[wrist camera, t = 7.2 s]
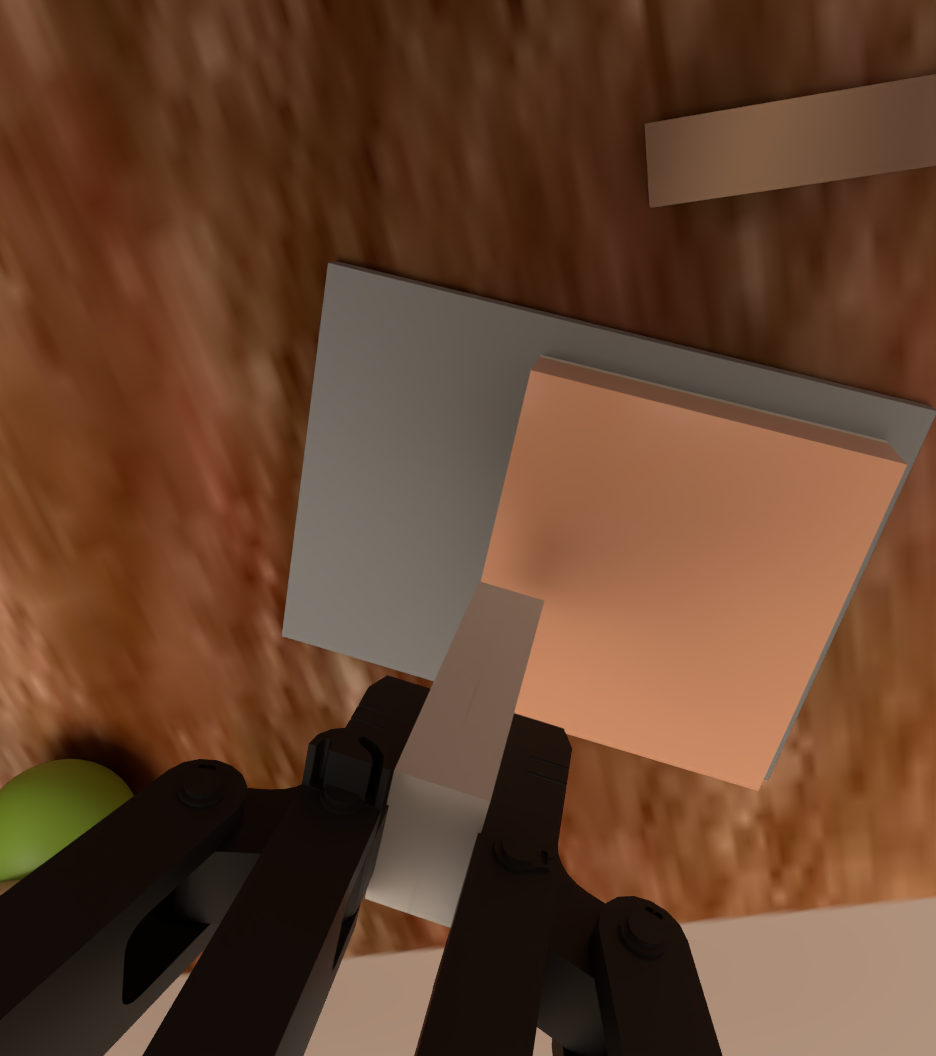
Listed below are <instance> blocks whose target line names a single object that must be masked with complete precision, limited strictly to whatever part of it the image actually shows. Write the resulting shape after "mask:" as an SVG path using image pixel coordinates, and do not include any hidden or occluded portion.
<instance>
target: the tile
mask: <svg viewBox="0 0 936 1056" xmlns="http://www.w3.org/2000/svg"><path fill="white" fill-rule="evenodd" d="M906 467H907V464H906V463H905V462H904V460H903V459H902V458H901V457H900V456H899V455H898V454H897V453H896V451H895V450H894V449H893V448H892V447H891V446H890V445H889V444H888V443H887V441H886V440H882V439H878V438H874V437H870V436H866V435H862V434H858V433H854V432H850V431H846V430H842V429H838V428H834V427H830V426H826V425H822V424H818V423H814V422H810V421H806V420H802V419H798V418H794V417H790V416H786V415H782V414H778V413H774V412H770V411H766V410H762V409H758V408H754V407H750V406H746V405H742V404H738V403H734V402H730V401H726V400H722V399H718V398H714V397H710V396H706V395H702V394H698V393H694V392H689V391H685V390H681V389H677V388H673V387H669V386H665V385H661V384H657V383H653V382H649V381H645V380H641V379H637V378H633V377H629V376H625V375H621V374H617V373H613V372H609V371H605V370H601V369H597V368H593V367H589V366H585V365H581V364H577V363H573V362H569V361H565V360H561V359H557V358H553V357H549V356H545V355H541V356H540V357H539V359H538V360H537V362H536V363H535V365H534V366H533V368H532V369H531V372H530V376H529V380H528V384H527V388H526V393H525V397H524V401H523V405H522V410H521V414H520V418H519V422H518V426H517V431H516V435H515V439H514V443H513V448H512V452H511V456H510V460H509V464H508V469H507V473H506V477H505V481H504V486H503V490H502V494H501V498H500V502H499V507H498V511H497V515H496V519H495V524H494V528H493V532H492V536H491V540H490V545H489V549H488V553H487V557H486V562H485V566H484V570H483V574H482V578H481V582H483V583H487V584H490V585H494V586H497V587H500V588H504V589H507V590H510V591H514V592H517V593H521V594H524V595H527V596H531V597H534V598H538V599H541V600H544V604H543V607H542V611H541V615H540V618H539V622H538V626H537V630H536V633H535V637H534V641H533V644H532V648H531V652H530V656H529V659H528V663H527V667H526V671H525V674H524V678H523V682H522V685H521V689H520V693H519V697H518V700H517V704H516V708H515V711H514V713H516V714H519V715H522V716H525V717H529V718H532V719H535V720H538V721H542V722H545V723H548V724H551V725H554V726H558V727H561V728H564V730H565V733H566V734H570V735H573V736H576V737H580V738H583V739H586V740H590V741H593V742H596V743H600V744H603V745H606V746H610V747H613V748H616V749H620V750H623V751H626V752H630V753H633V754H636V755H640V756H643V757H646V758H650V759H653V760H656V761H660V762H663V763H666V764H670V765H673V766H676V767H680V768H683V769H686V770H690V771H693V772H697V773H700V774H703V775H707V776H710V777H713V778H717V779H720V780H723V781H727V782H730V783H733V784H737V785H740V786H743V787H747V788H750V789H753V790H757V791H759V788H760V786H761V784H762V782H763V780H764V777H765V775H766V773H767V771H768V769H769V767H770V764H771V762H772V760H773V758H774V756H775V753H776V751H777V749H778V747H779V745H780V742H781V740H782V738H783V736H784V734H785V731H786V729H787V727H788V725H789V723H790V721H791V718H792V716H793V714H794V712H795V710H796V707H797V705H798V703H799V701H800V699H801V696H802V694H803V692H804V690H805V688H806V686H807V683H808V681H809V679H810V677H811V675H812V672H813V670H814V668H815V666H816V664H817V661H818V659H819V657H820V655H821V653H822V650H823V648H824V646H825V644H826V642H827V640H828V637H829V635H830V633H831V631H832V629H833V626H834V624H835V622H836V620H837V618H838V615H839V613H840V611H841V609H842V607H843V604H844V602H845V600H846V598H847V596H848V594H849V591H850V589H851V587H852V585H853V583H854V580H855V578H856V576H857V574H858V572H859V569H860V567H861V565H862V563H863V561H864V559H865V556H866V554H867V552H868V550H869V548H870V545H871V543H872V541H873V539H874V537H875V534H876V532H877V530H878V528H879V526H880V523H881V521H882V519H883V517H884V515H885V513H886V510H887V508H888V506H889V504H890V502H891V499H892V497H893V495H894V493H895V491H896V488H897V486H898V484H899V482H900V480H901V477H902V475H903V473H904V471H905V469H906Z"/></svg>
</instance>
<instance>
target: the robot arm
mask: <svg viewBox="0 0 936 1056" xmlns="http://www.w3.org/2000/svg"><path fill="white" fill-rule="evenodd" d="M543 604H544V600H541V599H538V598H534V597H531V596H527V595H524V594H521V593H517V592H514V591H510V590H507V589H504V588H500V587H497V586H494V585H490V584H487V583H483V582H480V581H479V583H478V585H477V587H476V589H475V591H474V594H473V596H472V598H471V600H470V603H469V605H468V607H467V609H466V612H465V614H464V616H463V618H462V620H461V623H460V625H459V627H458V629H457V632H456V634H455V636H454V638H453V640H452V643H451V645H450V647H449V649H448V652H447V654H446V656H445V658H444V661H443V663H442V665H441V667H440V669H439V672H438V674H437V676H436V678H435V681H434V683H433V685H432V687H431V689H429V688H426V687H423V686H420V685H417V684H413V683H410V682H407V681H404V680H401V679H397V678H394V677H391V676H388V675H387V676H386V677H384V678H382V679H381V680H379V681H378V682H376V683H374V684H373V685H371V686H369V688H368V689H367V691H366V693H365V694H364V696H363V698H362V700H361V701H360V703H359V706H358V707H357V708H356V710H355V712H354V714H353V715H352V717H351V720H350V721H349V722H348V724H347V726H346V728H339V729H330V730H328V731H326V732H323V733H321V734H318V735H317V736H316V737H315V738H314V739H313V740H312V741H311V742H310V743H309V746H308V751H307V757H306V763H305V769H304V775H303V781H302V784H301V785H299V786H297V787H292V788H287V789H273V790H269V789H253V788H247V785H246V782H245V780H244V778H243V775H242V774H241V773H240V772H239V771H237V770H236V769H235V768H234V767H233V766H231V765H228V764H226V763H223V762H220V761H218V760H206V759H198V760H193V761H188V762H183V763H181V764H179V765H177V766H175V767H173V768H171V769H169V770H168V771H166V772H165V773H164V774H162V775H161V776H160V777H158V778H157V779H156V780H154V781H153V782H152V783H150V784H149V785H148V786H146V787H145V788H144V789H142V790H141V791H140V792H138V793H137V794H136V795H134V796H133V797H132V798H130V799H129V800H128V801H126V802H125V803H124V804H122V805H121V806H120V807H118V808H117V809H116V810H114V811H113V812H112V813H110V814H109V815H108V816H106V817H105V818H103V819H102V820H101V821H99V822H98V823H97V824H95V825H94V826H93V827H91V828H90V829H89V830H87V831H86V832H85V833H83V834H82V835H81V836H79V837H78V838H77V839H75V840H74V841H73V842H71V843H70V844H69V845H67V846H66V847H65V848H63V849H62V850H61V851H59V852H58V853H57V854H55V855H54V856H53V857H51V858H50V859H49V860H47V861H46V862H45V863H43V864H42V865H40V866H39V867H38V868H36V869H35V870H34V871H32V872H31V873H30V874H28V875H27V876H26V877H24V878H23V879H22V880H20V881H19V882H18V883H16V884H15V885H14V886H12V887H11V888H10V889H8V890H7V891H6V892H4V893H3V894H2V895H0V1056H103V1055H104V1054H105V1053H106V1052H107V1051H108V1050H109V1049H110V1048H111V1047H112V1046H113V1045H114V1044H115V1043H116V1042H117V1041H118V1040H119V1039H120V1038H121V1036H123V1034H124V1033H125V1032H126V1031H127V1030H128V1029H129V1028H130V1027H131V1026H132V1025H133V1024H134V1023H135V1022H136V1021H137V1020H138V1019H139V1018H140V1017H141V1016H142V1014H143V1013H144V1012H145V1011H146V1010H147V1009H148V1008H149V1007H150V1006H151V1005H152V1004H153V1003H154V1002H155V1001H156V1000H157V999H158V998H159V996H160V995H161V994H162V993H163V992H164V991H165V990H166V989H167V988H168V987H169V986H170V985H171V984H172V983H173V982H174V981H175V980H176V979H177V978H178V977H179V976H180V974H181V973H182V972H183V971H184V970H185V969H186V968H187V967H188V966H189V965H190V964H191V963H192V962H193V961H194V960H195V959H196V958H197V957H198V956H199V954H200V953H201V952H202V951H203V950H204V949H205V950H204V952H203V953H202V955H201V957H200V959H199V960H198V962H197V964H196V965H195V967H194V969H193V970H192V972H191V974H190V975H189V977H188V979H187V981H186V982H185V984H184V986H183V987H182V989H181V991H180V993H179V994H178V996H177V998H176V999H175V1001H174V1003H173V1004H172V1007H171V1008H170V1009H169V1011H168V1013H167V1015H166V1016H165V1018H164V1020H163V1022H162V1023H161V1025H160V1027H159V1028H158V1030H157V1032H156V1033H155V1035H154V1037H153V1038H152V1040H151V1042H150V1044H149V1046H148V1047H147V1049H146V1051H145V1052H144V1054H143V1055H142V1056H303V1055H304V1053H305V1050H306V1048H307V1045H308V1043H309V1040H310V1038H311V1036H312V1033H313V1030H314V1028H315V1026H316V1023H317V1021H318V1018H319V1015H320V1013H321V1011H322V1008H323V1006H324V1003H325V1001H326V998H327V996H328V993H329V991H330V988H331V986H332V983H333V981H334V978H335V976H336V973H337V971H338V968H339V966H340V963H341V961H342V959H343V956H344V954H345V951H346V949H347V946H348V944H349V941H350V939H351V936H352V934H353V931H354V929H355V926H356V921H357V917H358V912H359V908H360V904H361V902H362V899H363V897H364V894H365V892H366V890H367V892H366V896H365V899H368V900H371V901H374V902H377V903H380V904H382V905H385V906H388V907H391V908H394V909H397V910H400V911H403V912H406V913H409V914H412V915H415V916H418V917H420V918H423V919H426V920H429V921H432V922H435V923H438V924H441V925H444V926H447V927H450V931H449V935H448V938H447V942H446V945H445V948H444V952H443V955H442V959H441V962H440V965H439V969H438V972H437V976H436V979H435V983H434V986H433V991H432V995H431V998H430V1002H429V1005H428V1009H427V1012H426V1016H425V1020H424V1023H423V1027H422V1030H421V1034H420V1037H419V1041H418V1045H417V1048H416V1051H415V1055H414V1056H533V1049H534V1042H535V1035H536V1028H537V1027H538V1028H539V1029H541V1030H542V1031H543V1032H545V1033H546V1034H547V1035H549V1036H550V1037H551V1038H552V1053H553V1056H722V1053H721V1049H720V1046H719V1043H718V1040H717V1036H716V1033H715V1030H714V1026H713V1023H712V1020H711V1016H710V1013H709V1010H708V1006H707V1003H706V1000H705V997H704V993H703V990H702V986H701V983H700V980H699V977H698V974H697V970H696V967H695V963H694V960H693V957H692V954H691V950H690V947H689V943H688V940H687V939H686V937H685V934H684V932H683V930H682V928H681V926H680V925H679V924H678V922H677V921H676V920H675V919H674V918H673V917H672V916H671V915H670V914H669V913H668V912H667V911H666V910H664V909H663V908H661V907H659V906H658V905H656V904H655V903H653V902H651V901H649V900H645V899H642V898H638V897H635V896H625V897H617V898H615V899H613V900H611V901H609V902H607V903H606V904H605V903H603V902H602V901H600V900H599V899H597V898H596V897H594V896H592V895H591V894H589V893H588V892H587V891H585V890H584V889H583V888H581V887H580V886H579V885H577V884H576V883H575V881H574V880H573V879H572V878H571V877H570V876H569V875H568V874H567V872H566V870H565V869H564V867H563V865H562V864H561V860H560V857H559V854H558V840H559V833H560V826H561V820H562V813H563V806H564V799H565V793H566V785H567V779H568V770H569V766H570V759H571V752H572V747H571V745H570V742H569V740H568V737H567V735H566V733H565V730H564V728H561V727H558V726H554V725H551V724H548V723H545V722H542V721H538V720H535V719H532V718H529V717H525V716H522V715H519V714H516V713H514V711H515V708H516V704H517V700H518V697H519V693H520V689H521V685H522V682H523V678H524V674H525V671H526V667H527V663H528V659H529V656H530V652H531V648H532V644H533V641H534V637H535V633H536V630H537V626H538V622H539V618H540V615H541V611H542V607H543ZM367 887H368V888H367Z"/></svg>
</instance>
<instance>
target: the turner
mask: <svg viewBox="0 0 936 1056" xmlns="http://www.w3.org/2000/svg"><path fill="white" fill-rule="evenodd" d="M645 142H646V159H647V175H648V192H649V207H650V208H653V207H660V206H667V205H673V204H680V203H687V202H694V201H701V200H707V199H714V198H721V197H728V196H734V195H741V194H748V193H755V192H762V191H768V190H775V189H782V188H789V187H795V186H802V185H809V184H816V183H823V182H829V181H836V180H843V179H850V178H857V177H863V176H870V175H877V174H884V173H890V172H897V171H904V170H911V169H918V168H924V167H931V166H936V74H932V75H927V76H921V77H915V78H909V79H903V80H897V81H892V82H886V83H880V84H874V85H868V86H862V87H856V88H851V89H845V90H839V91H833V92H827V93H821V94H816V95H810V96H804V97H798V98H792V99H786V100H780V101H775V102H769V103H763V104H757V105H751V106H745V107H740V108H734V109H728V110H722V111H716V112H710V113H704V114H699V115H693V116H687V117H681V118H675V119H669V120H664V121H658V122H652V123H646V124H645Z"/></svg>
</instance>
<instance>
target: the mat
mask: <svg viewBox="0 0 936 1056" xmlns="http://www.w3.org/2000/svg"><path fill="white" fill-rule="evenodd" d="M541 355H545V356H549V357H553V358H557V359H561V360H565V361H569V362H573V363H577V364H581V365H585V366H589V367H593V368H597V369H601V370H605V371H609V372H613V373H617V374H621V375H625V376H629V377H633V378H637V379H641V380H645V381H649V382H653V383H657V384H661V385H665V386H669V387H673V388H677V389H681V390H685V391H689V392H694V393H698V394H702V395H706V396H710V397H714V398H718V399H722V400H726V401H730V402H734V403H738V404H742V405H746V406H750V407H754V408H758V409H762V410H766V411H770V412H774V413H778V414H782V415H786V416H790V417H794V418H798V419H802V420H806V421H810V422H814V423H818V424H822V425H826V426H830V427H834V428H838V429H842V430H846V431H850V432H854V433H858V434H862V435H866V436H870V437H874V438H878V439H882V440H886V441H887V443H888V444H889V445H890V446H891V447H892V448H893V449H894V450H895V451H896V453H897V454H898V455H899V456H900V457H901V458H902V459H903V460H904V462H905V463H906V464H907V467H906V469H905V471H904V473H903V475H902V477H901V480H900V482H899V484H898V486H897V488H896V491H895V493H894V495H893V497H892V499H891V502H890V504H889V506H888V508H887V510H886V513H885V515H884V517H883V519H882V521H881V523H880V526H879V528H878V530H877V532H876V534H875V537H874V539H873V541H872V543H871V545H870V548H869V550H868V552H867V554H866V556H865V559H864V561H863V563H862V565H861V567H860V569H859V572H858V574H857V576H856V578H855V580H854V583H853V585H852V587H851V589H850V591H849V594H848V596H847V598H846V600H845V602H844V604H843V607H842V609H841V611H840V613H839V615H838V618H837V620H836V622H835V624H834V626H833V629H832V631H831V633H830V635H829V637H828V640H827V642H826V644H825V646H824V648H823V650H822V653H821V655H820V657H819V659H818V661H817V664H816V666H815V668H814V670H813V672H812V675H811V677H810V679H809V681H808V683H807V686H806V688H805V690H804V692H803V694H802V696H801V699H800V701H799V703H798V705H797V707H796V710H795V712H794V714H793V716H792V718H791V721H790V723H789V725H788V727H787V729H786V731H785V734H784V736H783V738H782V740H781V742H780V745H779V747H778V749H777V751H776V753H775V756H774V758H773V760H772V762H771V764H770V767H769V769H768V771H767V773H766V775H765V777H764V780H768V779H769V777H770V775H771V772H772V770H773V768H774V766H775V764H776V762H777V759H778V757H779V755H780V753H781V751H782V749H783V746H784V744H785V742H786V740H787V738H788V735H789V733H790V731H791V729H792V727H793V725H794V722H795V720H796V718H797V716H798V714H799V712H800V709H801V707H802V705H803V703H804V701H805V698H806V696H807V694H808V692H809V690H810V688H811V685H812V683H813V681H814V679H815V677H816V675H817V672H818V670H819V668H820V666H821V664H822V662H823V659H824V657H825V655H826V653H827V651H828V648H829V646H830V644H831V642H832V640H833V638H834V635H835V633H836V631H837V629H838V627H839V625H840V622H841V620H842V618H843V616H844V614H845V611H846V609H847V607H848V605H849V603H850V601H851V598H852V596H853V594H854V592H855V590H856V588H857V585H858V583H859V581H860V579H861V577H862V575H863V572H864V570H865V568H866V566H867V564H868V561H869V559H870V557H871V555H872V553H873V551H874V548H875V546H876V544H877V542H878V540H879V538H880V535H881V533H882V531H883V529H884V527H885V524H886V522H887V520H888V518H889V516H890V514H891V511H892V509H893V507H894V505H895V503H896V501H897V498H898V496H899V494H900V492H901V490H902V488H903V485H904V483H905V481H906V479H907V477H908V474H909V472H910V470H911V468H912V466H913V464H914V461H915V459H916V457H917V455H918V453H919V451H920V448H921V446H922V444H923V442H924V440H925V437H926V435H927V433H928V431H929V429H930V427H931V424H932V422H933V420H934V418H935V416H936V410H935V409H934V408H933V407H931V406H930V405H926V404H922V403H918V402H914V401H910V400H906V399H902V398H897V397H893V396H889V395H885V394H881V393H877V392H873V391H869V390H865V389H860V388H856V387H852V386H848V385H844V384H840V383H836V382H832V381H828V380H823V379H819V378H815V377H811V376H807V375H803V374H799V373H795V372H790V371H786V370H782V369H778V368H774V367H770V366H766V365H762V364H758V363H753V362H749V361H745V360H741V359H737V358H733V357H729V356H725V355H721V354H716V353H712V352H708V351H704V350H700V349H696V348H692V347H688V346H684V345H679V344H675V343H671V342H667V341H663V340H659V339H655V338H651V337H647V336H642V335H638V334H634V333H630V332H626V331H622V330H618V329H614V328H610V327H605V326H601V325H597V324H593V323H589V322H585V321H581V320H577V319H572V318H568V317H564V316H560V315H556V314H552V313H548V312H544V311H540V310H535V309H531V308H527V307H523V306H519V305H515V304H511V303H507V302H503V301H498V300H494V299H490V298H486V297H482V296H478V295H474V294H470V293H466V292H461V291H457V290H453V289H449V288H445V287H441V286H437V285H433V284H429V283H424V282H420V281H416V280H412V279H408V278H404V277H400V276H396V275H392V274H387V273H383V272H379V271H375V270H371V269H367V268H363V267H359V266H354V265H350V264H346V263H342V262H338V261H334V262H330V263H328V267H327V276H326V284H325V292H324V300H323V308H322V316H321V324H320V332H319V340H318V348H317V356H316V364H315V372H314V381H313V389H312V397H311V405H310V413H309V421H308V429H307V437H306V445H305V453H304V461H303V469H302V478H301V486H300V494H299V502H298V510H297V518H296V526H295V534H294V542H293V550H292V558H291V566H290V574H289V583H288V591H287V599H286V607H285V615H284V623H283V631H282V636H284V637H287V638H290V639H294V640H297V641H300V642H304V643H307V644H310V645H314V646H317V647H321V648H324V649H327V650H331V651H334V652H337V653H341V654H344V655H347V656H351V657H354V658H358V659H361V660H364V661H368V662H371V663H374V664H378V665H381V666H384V667H388V668H391V669H394V670H398V671H401V672H405V673H408V674H411V675H415V676H418V677H421V678H425V679H428V680H431V681H435V678H436V676H437V674H438V672H439V669H440V667H441V665H442V663H443V661H444V658H445V656H446V654H447V652H448V649H449V647H450V645H451V643H452V640H453V638H454V636H455V634H456V632H457V629H458V627H459V625H460V623H461V620H462V618H463V616H464V614H465V612H466V609H467V607H468V605H469V603H470V600H471V598H472V596H473V594H474V591H475V589H476V587H477V585H478V583H479V581H480V582H481V578H482V574H483V570H484V566H485V562H486V557H487V553H488V549H489V545H490V540H491V536H492V532H493V528H494V524H495V519H496V515H497V511H498V507H499V502H500V498H501V494H502V490H503V486H504V481H505V477H506V473H507V469H508V464H509V460H510V456H511V452H512V448H513V443H514V439H515V435H516V431H517V426H518V422H519V418H520V414H521V410H522V405H523V401H524V397H525V393H526V388H527V384H528V380H529V376H530V372H531V369H532V368H533V366H534V365H535V363H536V362H537V360H538V359H539V357H540V356H541Z"/></svg>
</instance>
